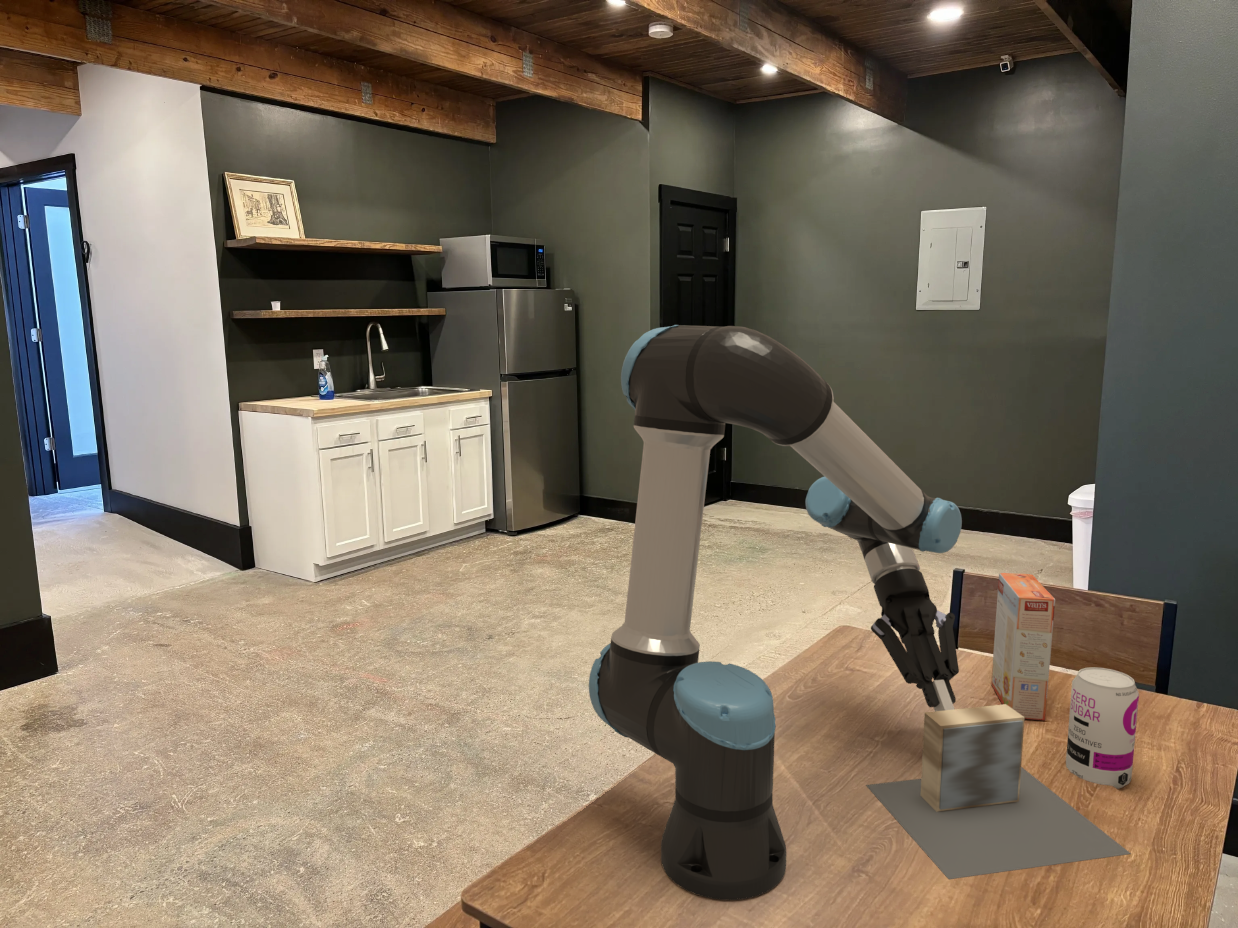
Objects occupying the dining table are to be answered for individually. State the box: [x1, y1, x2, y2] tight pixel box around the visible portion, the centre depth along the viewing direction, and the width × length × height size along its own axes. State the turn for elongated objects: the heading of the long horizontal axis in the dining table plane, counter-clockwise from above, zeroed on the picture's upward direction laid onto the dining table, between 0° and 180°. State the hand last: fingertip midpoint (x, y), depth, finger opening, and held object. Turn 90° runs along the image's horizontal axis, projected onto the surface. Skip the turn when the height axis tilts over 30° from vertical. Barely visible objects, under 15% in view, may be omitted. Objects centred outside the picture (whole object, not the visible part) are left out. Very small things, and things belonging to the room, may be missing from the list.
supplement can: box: [1065, 666, 1140, 790], centre depth 124 cm, size 8×8×15 cm
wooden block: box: [920, 704, 1025, 812], centre depth 117 cm, size 12×4×12 cm, turn 101°
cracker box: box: [990, 572, 1056, 721], centre depth 147 cm, size 14×6×21 cm, turn 168°
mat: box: [865, 766, 1132, 880], centre depth 114 cm, size 24×21×1 cm
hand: (951, 727), depth 122 cm, fingers closed
